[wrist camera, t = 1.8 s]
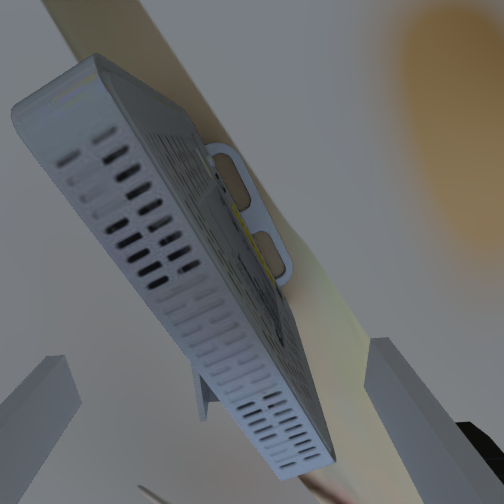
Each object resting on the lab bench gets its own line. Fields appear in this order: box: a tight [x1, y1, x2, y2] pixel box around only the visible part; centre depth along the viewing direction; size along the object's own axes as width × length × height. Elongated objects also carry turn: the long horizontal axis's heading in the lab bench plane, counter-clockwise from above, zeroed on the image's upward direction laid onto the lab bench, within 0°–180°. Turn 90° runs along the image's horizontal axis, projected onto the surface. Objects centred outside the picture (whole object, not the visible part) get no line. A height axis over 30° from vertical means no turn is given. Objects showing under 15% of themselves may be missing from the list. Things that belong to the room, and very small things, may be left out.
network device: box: [11, 53, 336, 481], centre depth 22 cm, size 26×9×20 cm, turn 27°
